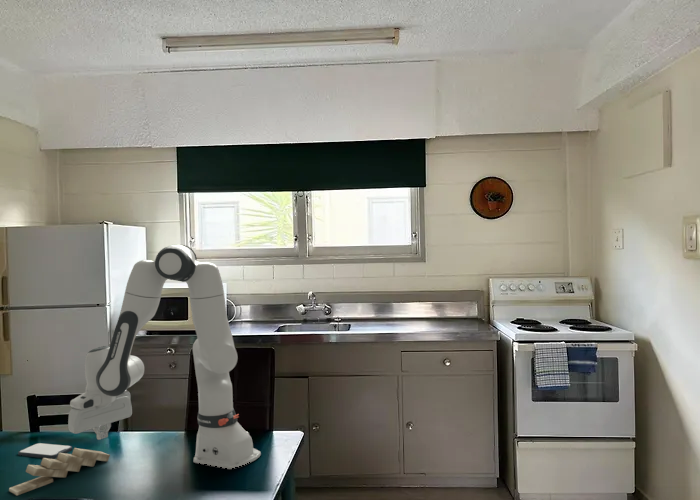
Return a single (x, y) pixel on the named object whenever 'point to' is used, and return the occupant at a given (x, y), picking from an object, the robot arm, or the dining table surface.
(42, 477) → the tile
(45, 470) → the tile
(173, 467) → the dining table surface
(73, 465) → the tile
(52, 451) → the smartphone
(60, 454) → the light brown wooden block
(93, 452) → the tan rectangular block
